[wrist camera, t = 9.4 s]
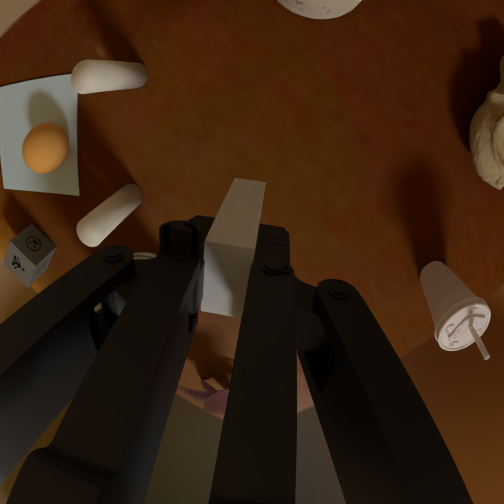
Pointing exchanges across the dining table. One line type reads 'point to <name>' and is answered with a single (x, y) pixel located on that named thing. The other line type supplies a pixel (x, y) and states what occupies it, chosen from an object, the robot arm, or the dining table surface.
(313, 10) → the teacup with lid
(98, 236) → the post
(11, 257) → the dice cube
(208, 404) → the lily
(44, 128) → the ball
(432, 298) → the smoothie
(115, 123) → the dining table surface
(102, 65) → the post
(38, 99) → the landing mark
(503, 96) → the oil lamp
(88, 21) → the dining table surface
